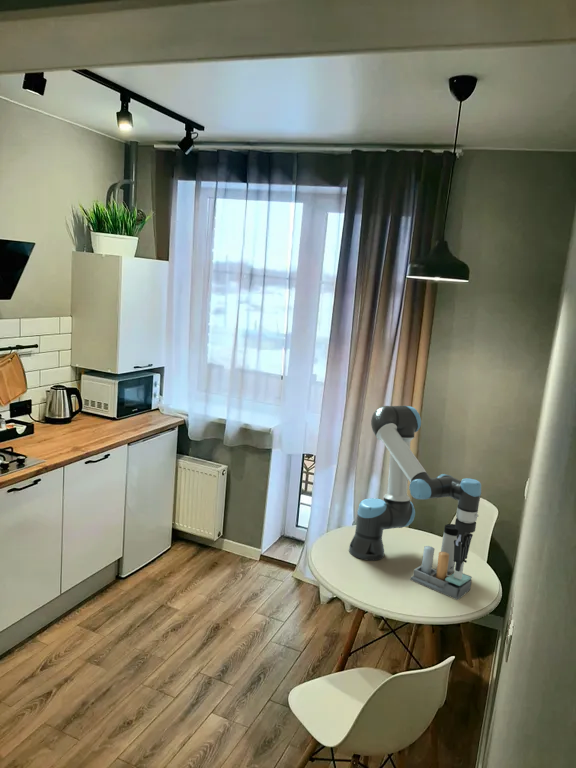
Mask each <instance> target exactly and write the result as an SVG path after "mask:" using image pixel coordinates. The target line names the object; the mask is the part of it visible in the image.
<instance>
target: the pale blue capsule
mask: <svg viewBox="0 0 576 768" xmlns="http://www.w3.org/2000/svg"><path fill="white" fill-rule="evenodd" d="M434 553H435V548H434V547H433V546H430V545H425V546H424V548H423V554H422V562H421V565H422V567H421V572H423V573H426V574H428V575H430V574H431V570H432V569H433V562H434V556H435V554H434Z"/></svg>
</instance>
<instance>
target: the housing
mask: <svg viewBox="0 0 576 768" xmlns="http://www.w3.org/2000/svg"><path fill="white" fill-rule="evenodd" d="M421 567H422V564H421V565H419V566H418V567H416V568H414V569H413V575H412V576H410V579H409V580H410V581H412V582H415V583H417V584H418V585H422V586H424V587H426V588H429V589H431V590H434V591H436V592H438V593H441V594H443V595H445V596H448V597H450V598H452V599H455V600H457V601H458V600H460V599H461V598H462V597H464V595H466V594H468V592H469V591H470V590H471V588H472V587H471V586H472V581H473V580H472V578H471V579H470V580H469V581H467V582H465V583H464V584H462V585H461V586H458V585H456V584H453V583H451V582H448V581H443V580H440V579H438V578H436V573H437V569H435V568H432V570H431V574H430V575H428V574H426V573H423V572H421ZM450 575H451V574H447V577H449V576H450Z"/></svg>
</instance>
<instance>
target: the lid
mask: <svg viewBox="0 0 576 768" xmlns="http://www.w3.org/2000/svg"><path fill="white" fill-rule="evenodd" d="M449 575H450V576H449V577H447V578H445V580H446V581H448V582H451V583H453V584H456V585H458V586H461V585H462V584H464V583H465V582H467V581H469V580H470V579H471V580H472V578H473V577H472V576H471V575H469V574H465V573H464V572H463V573H462V579H461V580H460V579H457V578H455V577H454V573H451V574H449Z"/></svg>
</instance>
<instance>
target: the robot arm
mask: <svg viewBox="0 0 576 768" xmlns="http://www.w3.org/2000/svg"><path fill="white" fill-rule="evenodd" d="M421 425H422V419H421V416H420V413H419V412H418V410H417V409H416V408H415V407H414V406H409V405H382V406H380V407H379V408H377V409H376V410H375V411H374V412H373V414H372V416H371V419H370V426H371V430H372V432H373V434H374V435H375V437H376V439H377V440H379V441H382V443H383V444H384V446H385V447H386V449H387V451H388V452H389V464H388V480H387V492H386V493H385V494H384V495H383V499H380V498H374V497H373V498H372V497H369V498H365V499H363V500H361V501H360V502H359V505H358V509H357V517H356V526H355V533H354V535H353V537H352V540H351V542H350V543H349V548H348V552H349V553H350V554H351V556H353V557H355V558H357V559H361V560H365V561H379V560H382V559H383V558H384V556H385V548H384V547H385V546H384V542H383V533H384V530H390V529H402V528H404V527H405V528H406V527H408V526H410V525H411V524H412V523H413V521H414V520H415V516H416V510H415V507H414V504H413V502H412V501H411V497H412V498H414V499H416V500H428V499H435V498H436V499H437V498H452V499H454V500H456V501H457V509H456V513H455V514H456V515H455V517H456V518H455V520H454V521H455V522H454V524H455V528H456V529H457V530H458V531H459V532H458V534H457V540H454V560H453V561H454V562H455V566H454V572H453V574H454V577H455V578H457V579H460V580H461V579H462V573H463V574H464V572H463V571H464V565H465V563H467V562H468V560H467V559H468V554H469V550H470V545H471V542H472V539H473V536H474V535H473V533H475V531H476V527H477V519H478V517H479V514H478V513H479V507H480V506H479V505H480V499H481V496H482V483H481V482H480V480H477V479H473V478H469V477H468V478H467V477H465V478H462V479H461V480H460V479H458V478H456V477H453V476H452V475H449V474H446V473H441V474H439V475H438V476H436V477H430V474H428V472H427V471H426V469H425V468H424V467H423V465H422V464H421V463H420V461H419V459H418V458H417V457H416V455H415V454H414V452H413V451H412V450H411V442H412V440H413V439H414V438H415V433H416V432H417V433H418V431H419V429H420V428H421ZM408 483H409V485H408ZM408 486H409V487H408ZM408 489H409V492H410V496H411V497H410V496H409V494H408Z"/></svg>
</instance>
